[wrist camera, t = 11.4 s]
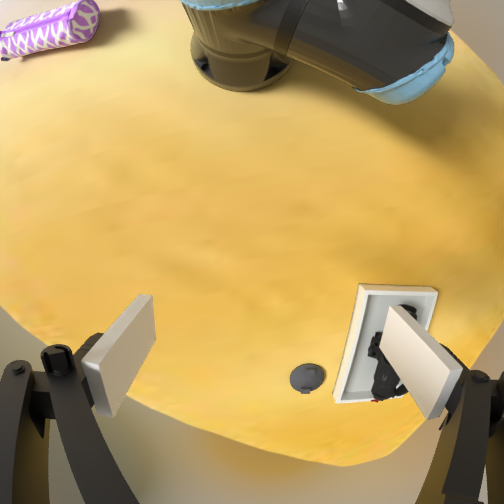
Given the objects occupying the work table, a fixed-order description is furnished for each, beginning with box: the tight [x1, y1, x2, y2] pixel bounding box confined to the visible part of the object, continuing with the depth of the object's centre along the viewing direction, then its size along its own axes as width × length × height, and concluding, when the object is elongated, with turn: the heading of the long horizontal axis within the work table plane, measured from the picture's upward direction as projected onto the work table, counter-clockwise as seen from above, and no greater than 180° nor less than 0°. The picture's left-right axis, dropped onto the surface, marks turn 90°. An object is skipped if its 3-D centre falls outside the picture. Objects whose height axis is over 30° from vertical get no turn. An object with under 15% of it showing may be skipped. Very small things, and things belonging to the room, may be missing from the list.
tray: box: [332, 283, 438, 403], centre depth 46 cm, size 22×14×3 cm, turn 176°
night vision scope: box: [367, 304, 417, 402], centre depth 43 cm, size 8×18×10 cm
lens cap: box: [290, 363, 324, 394], centre depth 48 cm, size 6×6×2 cm
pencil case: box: [0, 0, 100, 61], centre depth 30 cm, size 22×9×10 cm, turn 81°
